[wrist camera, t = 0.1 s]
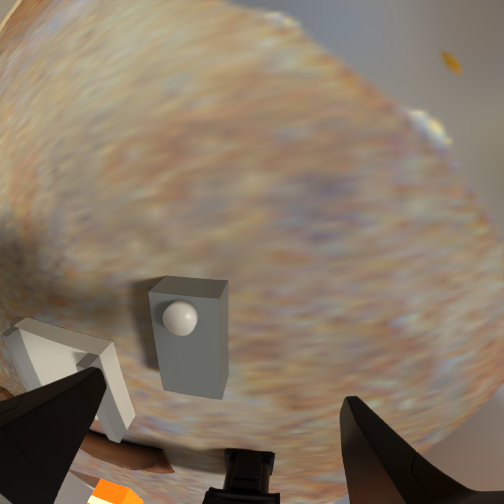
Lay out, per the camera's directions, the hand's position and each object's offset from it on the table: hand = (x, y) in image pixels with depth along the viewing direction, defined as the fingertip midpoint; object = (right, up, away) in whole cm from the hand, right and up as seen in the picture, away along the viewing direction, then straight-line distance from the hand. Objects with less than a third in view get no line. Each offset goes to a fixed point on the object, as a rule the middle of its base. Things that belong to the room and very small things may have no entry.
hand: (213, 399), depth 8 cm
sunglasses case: (-20, -27, +25) cm, 42 cm away
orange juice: (-29, -51, +31) cm, 67 cm away
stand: (-22, -10, +19) cm, 31 cm away
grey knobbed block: (-4, -2, +16) cm, 17 cm away
